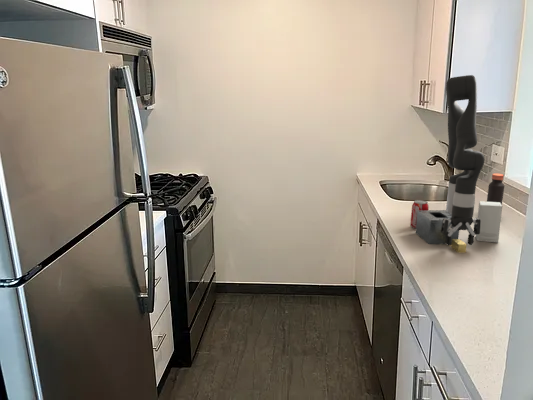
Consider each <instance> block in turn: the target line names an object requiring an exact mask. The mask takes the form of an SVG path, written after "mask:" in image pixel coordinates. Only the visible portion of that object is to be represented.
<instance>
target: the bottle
mask: <svg viewBox="0 0 533 400" xmlns="http://www.w3.org/2000/svg"><path fill="white" fill-rule="evenodd" d="M503 181H504V174H502V173H492V174H491V182H489V184H488V187H487V189H488V190H487V195H486V202H500V203H501V205H502V206H503V199H504V191H505V184H504V183H503Z"/></svg>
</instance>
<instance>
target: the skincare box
mask: <svg viewBox="0 0 533 400" xmlns="http://www.w3.org/2000/svg"><path fill="white" fill-rule="evenodd" d="M477 211H478V212H477V218H478V219H480V220H481V223H480V234H476V235H475V239H476V241H477V242H486V243H487V242H488V243H489V242H490V243H499V239H500V231H501V222H502V221H501V220H502V212H503V204H502V205H501V203H500V202H487V201H484V200H480V201H478V209H477Z"/></svg>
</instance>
